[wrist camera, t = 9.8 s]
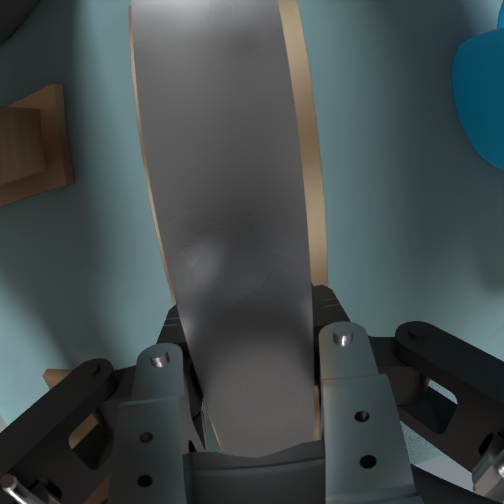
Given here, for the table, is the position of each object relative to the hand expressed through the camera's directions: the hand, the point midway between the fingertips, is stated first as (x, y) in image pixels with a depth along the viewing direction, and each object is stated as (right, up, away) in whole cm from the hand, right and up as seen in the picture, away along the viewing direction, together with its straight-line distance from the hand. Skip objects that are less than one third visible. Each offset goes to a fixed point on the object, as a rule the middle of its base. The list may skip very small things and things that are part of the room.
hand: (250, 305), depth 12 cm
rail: (0, 0, -1) cm, 1 cm away
